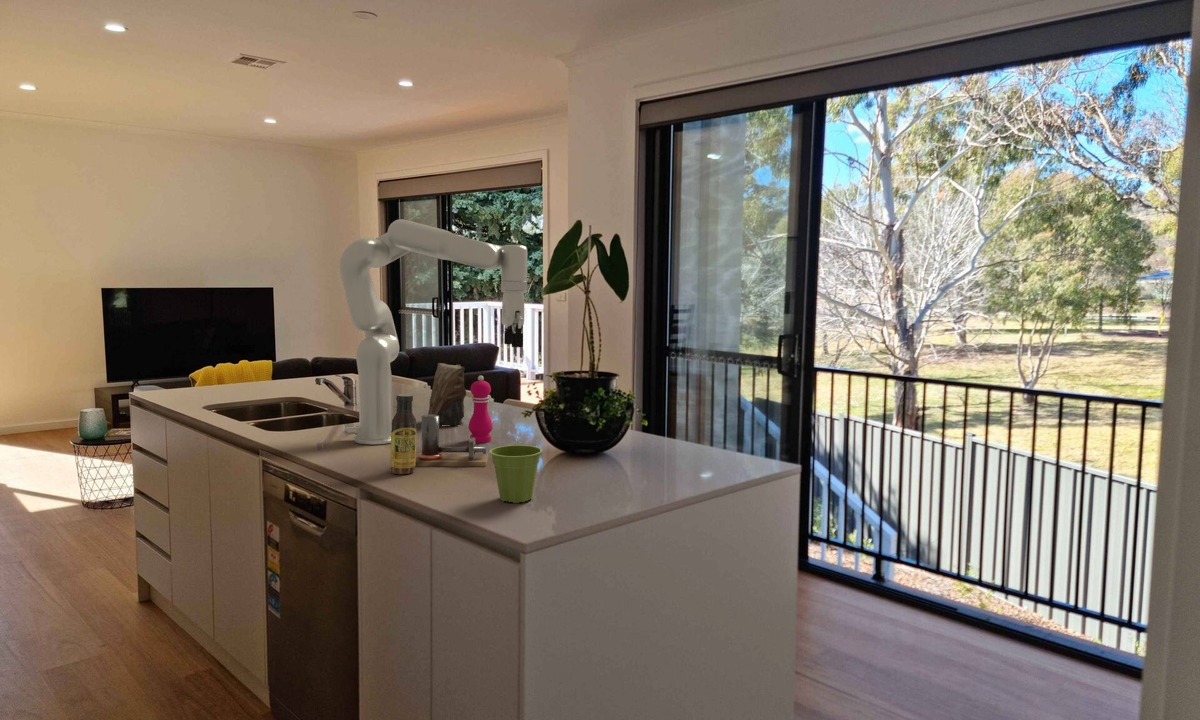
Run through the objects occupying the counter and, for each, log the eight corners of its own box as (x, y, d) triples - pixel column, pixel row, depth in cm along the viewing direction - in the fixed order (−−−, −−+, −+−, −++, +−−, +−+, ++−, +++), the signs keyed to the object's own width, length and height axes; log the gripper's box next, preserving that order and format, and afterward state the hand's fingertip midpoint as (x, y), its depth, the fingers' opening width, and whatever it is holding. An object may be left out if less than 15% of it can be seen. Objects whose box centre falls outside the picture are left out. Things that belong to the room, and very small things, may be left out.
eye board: (400, 466, 205) (400, 443, 204) (407, 458, 214) (406, 436, 213) (485, 466, 206) (485, 443, 206) (488, 458, 215) (488, 436, 214)
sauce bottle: (393, 476, 194) (392, 397, 192) (387, 471, 200) (386, 393, 198) (419, 474, 197) (419, 395, 195) (413, 468, 203) (412, 392, 201)
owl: (431, 420, 270) (431, 362, 268) (469, 420, 270) (469, 362, 268) (426, 427, 257) (425, 366, 255) (465, 427, 258) (465, 367, 256)
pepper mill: (495, 439, 240) (495, 374, 238) (489, 444, 233) (489, 377, 231) (472, 438, 241) (472, 373, 239) (465, 443, 234) (465, 376, 232)
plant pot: (521, 489, 185) (522, 442, 184) (552, 500, 176) (553, 451, 175) (478, 497, 177) (478, 448, 176) (508, 510, 168) (509, 458, 167)
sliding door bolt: (416, 460, 206) (416, 418, 205) (420, 454, 212) (420, 413, 211) (485, 460, 207) (485, 418, 206) (486, 454, 214) (487, 414, 212)
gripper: (495, 286, 237) (494, 343, 238) (508, 287, 220) (507, 348, 222) (519, 287, 239) (518, 343, 241) (534, 288, 223) (533, 348, 225)
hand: (513, 345), depth 231 cm, fingers open, 9 cm apart
